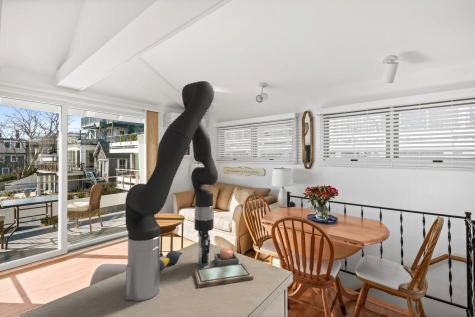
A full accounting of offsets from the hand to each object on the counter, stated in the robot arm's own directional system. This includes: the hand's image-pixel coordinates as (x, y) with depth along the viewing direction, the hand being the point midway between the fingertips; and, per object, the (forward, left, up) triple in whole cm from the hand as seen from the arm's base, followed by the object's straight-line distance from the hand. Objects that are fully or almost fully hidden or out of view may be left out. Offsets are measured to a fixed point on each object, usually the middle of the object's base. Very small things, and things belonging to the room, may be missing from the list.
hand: (203, 260), depth 92 cm
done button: (+9, -1, +1) cm, 9 cm away
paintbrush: (-15, +1, -2) cm, 15 cm away
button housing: (+9, -1, -1) cm, 9 cm away
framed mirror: (+5, -12, -1) cm, 13 cm away
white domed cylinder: (0, 0, -1) cm, 1 cm away
